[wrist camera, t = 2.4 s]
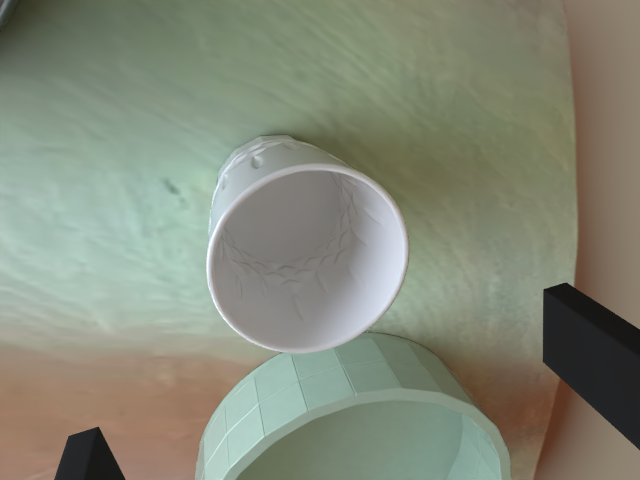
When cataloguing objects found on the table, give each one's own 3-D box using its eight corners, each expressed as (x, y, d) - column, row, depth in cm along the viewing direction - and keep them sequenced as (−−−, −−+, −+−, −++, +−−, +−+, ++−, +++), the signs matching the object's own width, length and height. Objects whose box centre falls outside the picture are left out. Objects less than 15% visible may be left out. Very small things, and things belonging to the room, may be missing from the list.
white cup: (364, 157, 28) (445, 210, 19) (307, 273, 30) (355, 373, 21) (236, 98, 25) (258, 127, 16) (182, 231, 27) (174, 325, 18)
